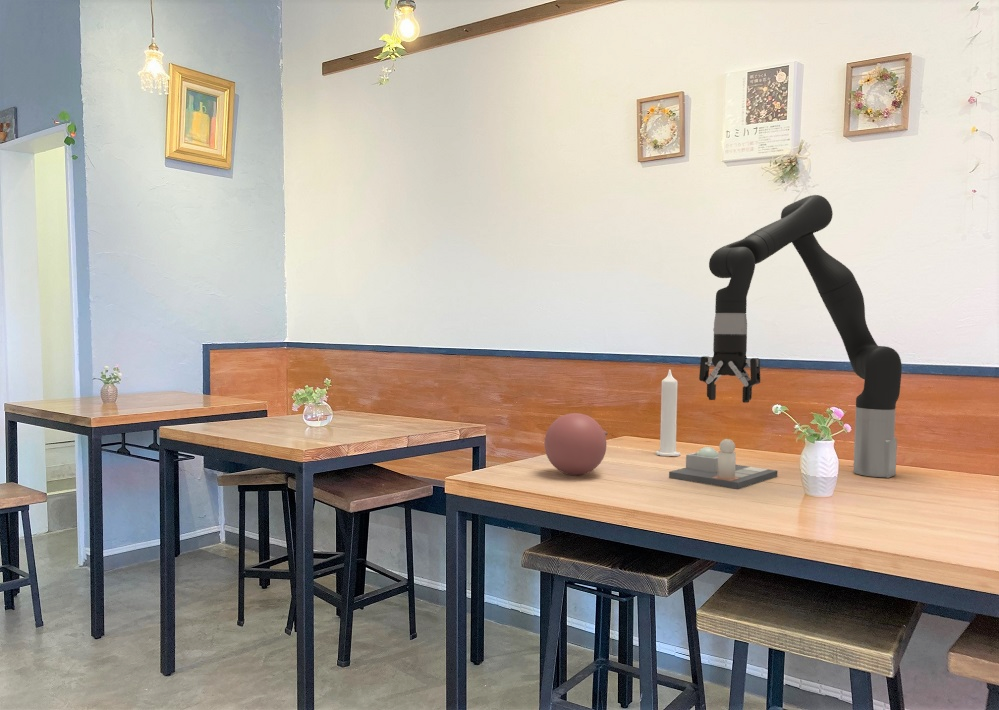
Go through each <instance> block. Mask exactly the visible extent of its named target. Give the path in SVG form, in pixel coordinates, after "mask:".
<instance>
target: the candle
mask: <svg viewBox="0 0 999 710" xmlns="http://www.w3.org/2000/svg"><path fill="white" fill-rule="evenodd" d="M678 383H679V382H678V380H677V379H676V378H674V377H673V375H672V370H671V369H668V373H667V376H666V377H665V378H663V379H662V380H661V393H660V394H661V395H660V396H661V398H660V399H661V400H660V433H659V434H660V436H659V437H660V438H659V439H660V443H659V450H656V451H655V455H656V454H657V456H658V455H660V456H659V457H665V456H677V457H680V456H681V452H680V451H677V417H678V415H677V414H678Z"/></svg>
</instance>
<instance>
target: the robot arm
mask: <svg viewBox="0 0 999 710" xmlns="http://www.w3.org/2000/svg"><path fill="white" fill-rule="evenodd" d="M832 219H833V207H832V204H830V201H829V200H828V199H827V198H826V197H825V196H822V195H820V194H813V195H808V196H806V197H803V198H800V199H799V200H797V201H794V202H792V203H790V204H788V205H786V206H784V208H782V210H781V213H780V219H778V220H776V221H774V222H771V223H769V224H767V225H765V226H763V227H761V228H758V229H757V230H756V231H754V232H752V233H750V234H748V235H747V236H745V237H744V238H742V239H740V240H737V241H734V242H732V243H729V244H726V245H724V246H722V247H720V248H717V249H716V250H715V251H713V253H712V254H711V256H710V258H709V261H708V267H709V271H710V272H711V274H712V275H713V276H714V277H716V278H720V279H730V280H729V282H728V284H727V286H724V287H723V288H719V289H718V290H717V291H716V293H715V294H716V295H715V304H714V305H715V309H714V310H715V316H714V321H713V344H712V345H713V349H712V350H713V355H712V356H711V357H710V356H708V355H707V356H706V355H705V356H704V355H703V356H701V357H700V362H699V363H700V364H699V377H698V379H699V381H701V382H704V383H705V384H706V397H707V398H708V400H709V401H715V400H716V399H717V397H716V396H717V394H716V392H717V391H716V389H717V384H715V383H716V382H717V380H718V379H719V378H721V377H722V376H730V377H737V379H738V380H739V381H740V382H741V384H742V385H743V386H742V403H743V404H745V403H746V404H747V403H749V402H750V401H751V400H752V397H753V390H752V389H753V386H756V385H758V384H760V383H761V364H760V363H761V360H760V358H758V357H755V358H754V357H752V358H748V357H747V344H748V342H747V341H748V319H747V306H748V305H747V300H748V299H747V297H748V294H749V290H750V287H751V284H752V281H753V277H754V273H755V269H756V265H757V264H759V263H761V262H763V261H765V260H767V259H768V258H770V257H772V256H773V255H774V254H776V253H777V252H779V251H780V250H783V248H785V247H787V246H788V245H789V244H792V245H793V247H794V249H796V252H797V253H798V255H799V256H800V259H801V260H802V261H803V263H804V265H805V267H806V269H807V271H808V272H809V275H810V276H811V278H812V281H813V283H814V285H815V286H816V289H817V292H818V294H819V296H820V298H821V300H822V302H823V305H824V307H825V309H826V310H827V312H828V313H829V316H830V318H831V320H832V322H833V324H834V326H835V327H836V330H837V332H838V333H839V336H840V338H841V340H842V344H843V346H844V348H845V351H846V354H847V356H848V359H849V363H850V365H851V368H852V370H853V372H854V373H855V374H856V375H857V376H858V377H859V378H861V379H862V380H863V381H864V382H863V383H864V384H863V389H862V391H861V392H860V394H858V395H857V396H856V399H855V413H854V414H855V415H854V416H855V418H854V420H855V421H854V444H853V445H854V447H853V448H854V449H853V473H854V474H856V475H860V476H866V477H874V478H875V477H876V478H888V479H890V478H892V477H893V476H896V475H897V474H896V472H897V447H898V439H897V437H895V434H896V433H895V432H896V430H895V429H896V408H897V407H896V406H897V405H896V404H897V401H898V400H899V397H900V392H901V384H902V383H901V381H902V371H903V368H902V359H901V357H900V354H899V353H898V352H897V350H895V349H894V348H892V347H891V346H885V345H879V344H877V342H876V340H875V339H874V337H873V336H872V334H871V332H870V329H869V328H868V324H867V321H866V308H865V300H864V295H863V292H862V290H861V288H860V286H859V283H858V281H857V279H856V277H855V275H854V273H853V272H852V271H851V269H849V268H848V267H847V266H846V265H845V264H844V263H842V262H841V261H839V260H838V259H836V258H835V257H834V256H832V255H830V254H829V253H828V252H827V251H826V250H824V248H823V247H822V246H821V245H820V243H819V241H818V240H817V237H816V236H815V233H817V232H819V231H822V230H824V229H825V228H827V227H828V226H829V225H830V224H831V221H832ZM711 365H713V366H714V368H713V370H712V371H711V372H710V366H711ZM747 365H748V367H749V368H750V376H749V374H748V372H747V371H746V369H745V368H746V366H747Z"/></svg>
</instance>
